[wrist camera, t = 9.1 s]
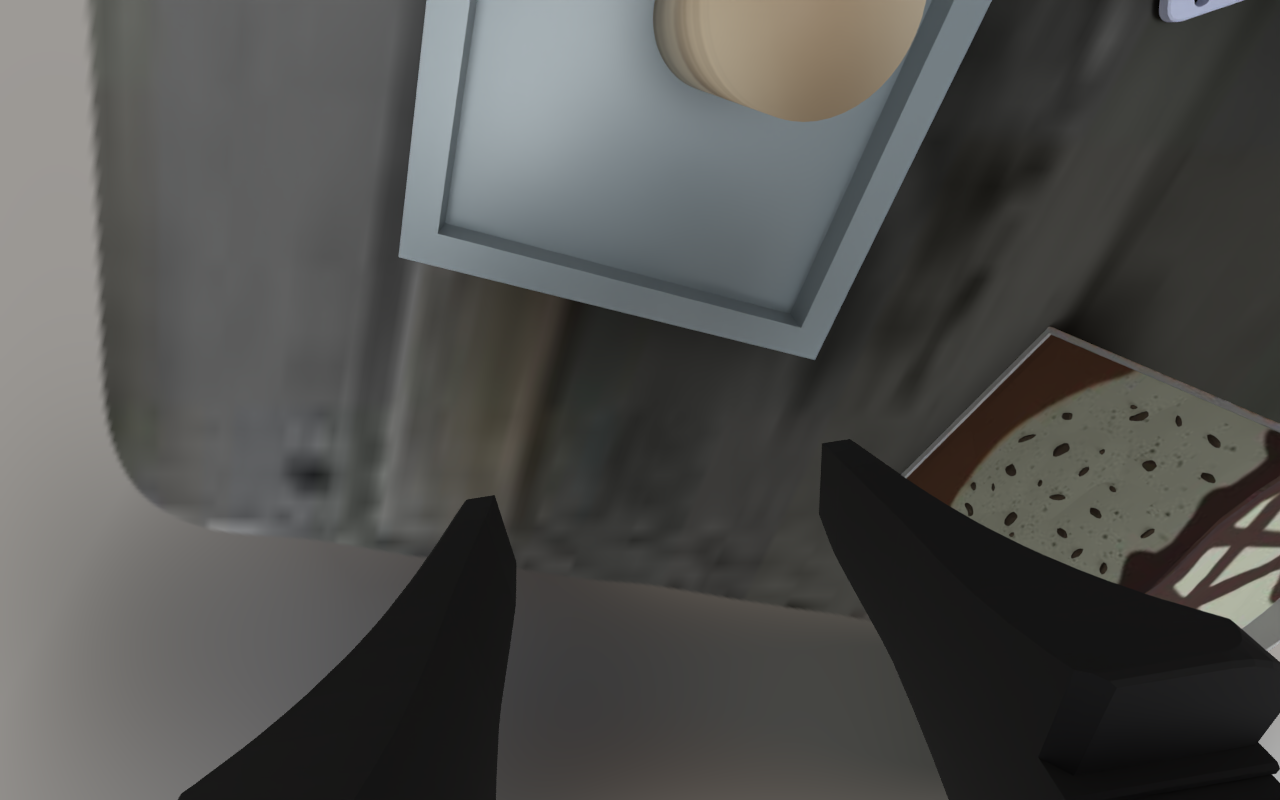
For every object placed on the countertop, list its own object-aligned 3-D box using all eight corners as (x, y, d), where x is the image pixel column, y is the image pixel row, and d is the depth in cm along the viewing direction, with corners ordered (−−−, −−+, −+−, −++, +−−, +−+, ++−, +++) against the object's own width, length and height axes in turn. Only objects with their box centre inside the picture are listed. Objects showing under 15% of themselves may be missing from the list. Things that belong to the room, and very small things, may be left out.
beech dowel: (761, -90, 15) (911, -196, 9) (796, 59, 17) (942, 68, 10) (632, -26, 16) (678, -79, 9) (679, 112, 18) (747, 155, 11)
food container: (950, 557, 30) (1102, 765, 21) (861, 513, 28) (990, 724, 19) (1167, 365, 25) (1475, 533, 17) (1080, 294, 23) (1382, 445, 14)
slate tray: (1014, -123, 16) (1061, -141, 15) (798, 338, 23) (814, 359, 21) (486, -386, 13) (475, -444, 11) (412, 239, 19) (398, 256, 18)
